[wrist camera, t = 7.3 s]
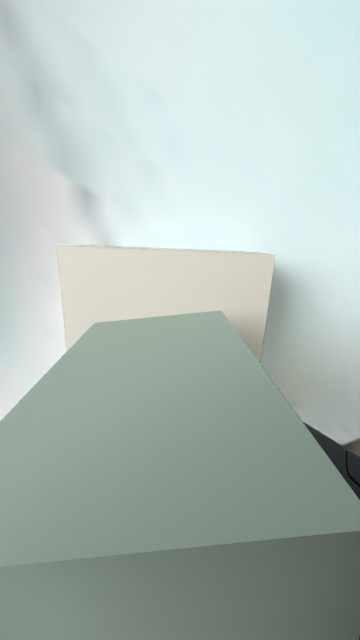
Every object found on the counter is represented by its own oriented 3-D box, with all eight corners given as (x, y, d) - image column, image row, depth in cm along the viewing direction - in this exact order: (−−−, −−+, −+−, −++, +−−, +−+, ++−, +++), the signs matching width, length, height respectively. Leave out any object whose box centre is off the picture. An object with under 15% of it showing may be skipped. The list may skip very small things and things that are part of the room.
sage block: (221, 310, 10) (380, 528, 2) (226, 417, 12) (334, 764, 4) (94, 322, 10) (-154, 583, 2) (115, 428, 12) (5, 798, 4)
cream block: (245, 251, 17) (275, 254, 12) (230, 386, 20) (250, 433, 15) (90, 245, 16) (56, 246, 11) (98, 384, 19) (74, 431, 14)
